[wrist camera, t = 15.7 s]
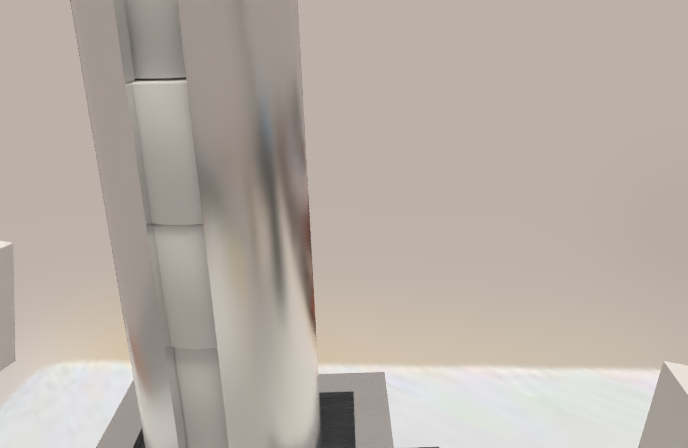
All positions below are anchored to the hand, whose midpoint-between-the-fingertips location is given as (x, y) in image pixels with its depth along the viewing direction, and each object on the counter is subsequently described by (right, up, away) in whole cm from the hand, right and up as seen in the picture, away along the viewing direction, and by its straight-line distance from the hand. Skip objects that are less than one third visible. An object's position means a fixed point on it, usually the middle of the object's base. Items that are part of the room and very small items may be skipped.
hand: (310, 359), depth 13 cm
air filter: (-3, -12, +14) cm, 19 cm away
